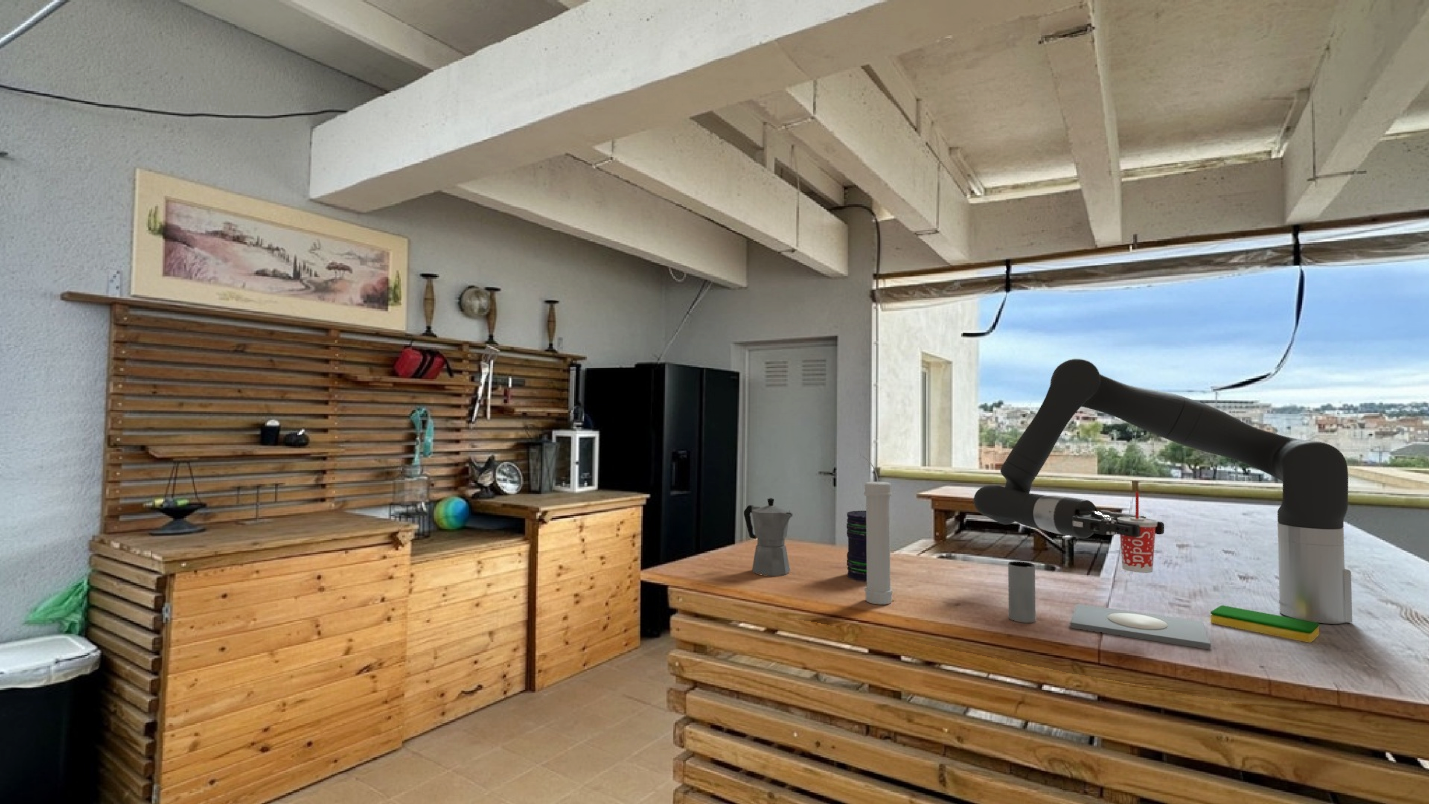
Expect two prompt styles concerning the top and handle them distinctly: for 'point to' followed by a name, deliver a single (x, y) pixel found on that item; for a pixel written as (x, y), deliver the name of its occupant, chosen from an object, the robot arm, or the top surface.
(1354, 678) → the top surface
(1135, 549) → the beverage cup
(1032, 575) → the gray cylinder
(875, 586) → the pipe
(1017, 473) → the robot arm
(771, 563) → the coffeepot
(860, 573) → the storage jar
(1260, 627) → the dish sponge
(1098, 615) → the slate board
